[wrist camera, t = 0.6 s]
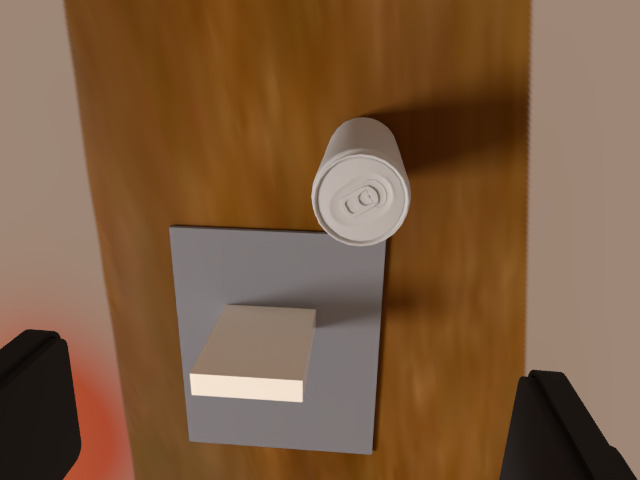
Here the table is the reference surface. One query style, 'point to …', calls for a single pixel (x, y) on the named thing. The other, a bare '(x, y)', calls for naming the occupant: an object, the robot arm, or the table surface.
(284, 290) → the mat
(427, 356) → the table surface
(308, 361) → the tile
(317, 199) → the beverage can
